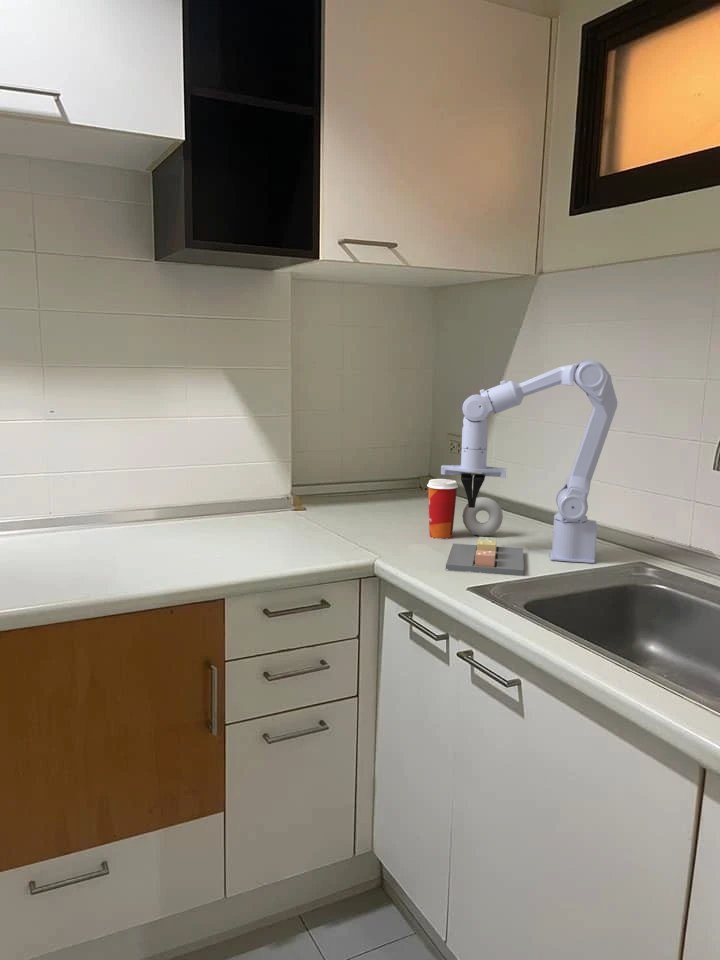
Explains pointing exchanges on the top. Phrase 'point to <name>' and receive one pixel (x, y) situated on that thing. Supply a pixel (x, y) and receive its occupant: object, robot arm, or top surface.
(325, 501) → the top surface
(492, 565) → the tile three pips
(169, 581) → the top surface
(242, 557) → the top surface
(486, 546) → the tile two pips
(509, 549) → the grey slotted tray
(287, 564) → the top surface
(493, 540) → the tile one pip
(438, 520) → the paper cup
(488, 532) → the donut
